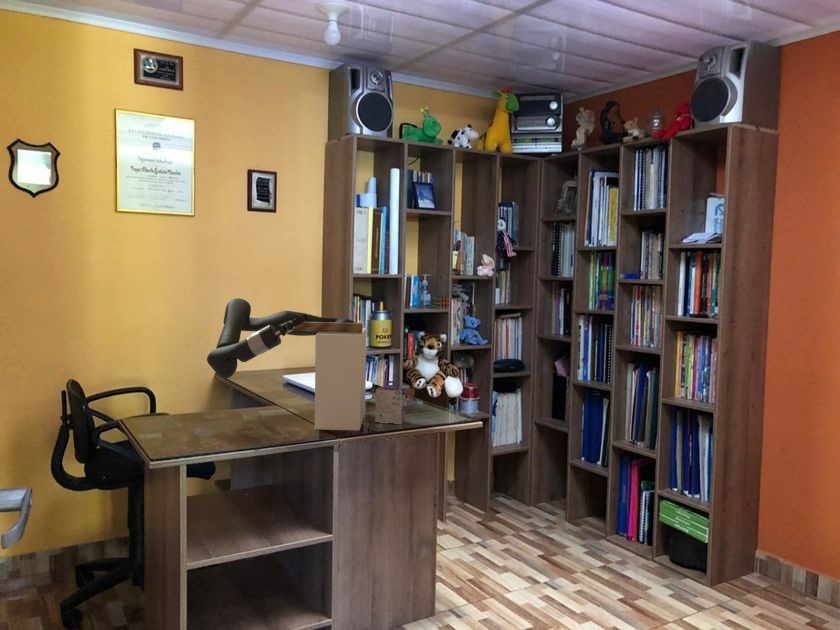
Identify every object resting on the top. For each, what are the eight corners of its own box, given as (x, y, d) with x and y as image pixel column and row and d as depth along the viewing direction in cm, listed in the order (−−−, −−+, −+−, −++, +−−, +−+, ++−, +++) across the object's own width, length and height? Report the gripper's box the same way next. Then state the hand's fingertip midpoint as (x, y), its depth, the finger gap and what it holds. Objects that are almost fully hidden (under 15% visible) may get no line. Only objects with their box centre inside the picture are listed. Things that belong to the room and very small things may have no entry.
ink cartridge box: (405, 421, 248) (406, 381, 246) (402, 425, 242) (402, 383, 241) (378, 419, 250) (379, 379, 248) (374, 423, 244) (375, 382, 243)
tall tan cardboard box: (314, 429, 233) (315, 333, 230) (324, 413, 257) (325, 326, 254) (359, 430, 233) (361, 334, 231) (364, 414, 257) (366, 327, 254)
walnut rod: (287, 330, 235) (287, 322, 235) (289, 330, 238) (289, 321, 238) (361, 332, 235) (361, 323, 235) (362, 331, 238) (362, 323, 238)
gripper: (253, 332, 229) (296, 309, 229) (263, 328, 244) (303, 306, 243) (264, 352, 230) (307, 329, 229) (273, 347, 244) (314, 325, 243)
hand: (305, 317), depth 236 cm, fingers open, 8 cm apart
